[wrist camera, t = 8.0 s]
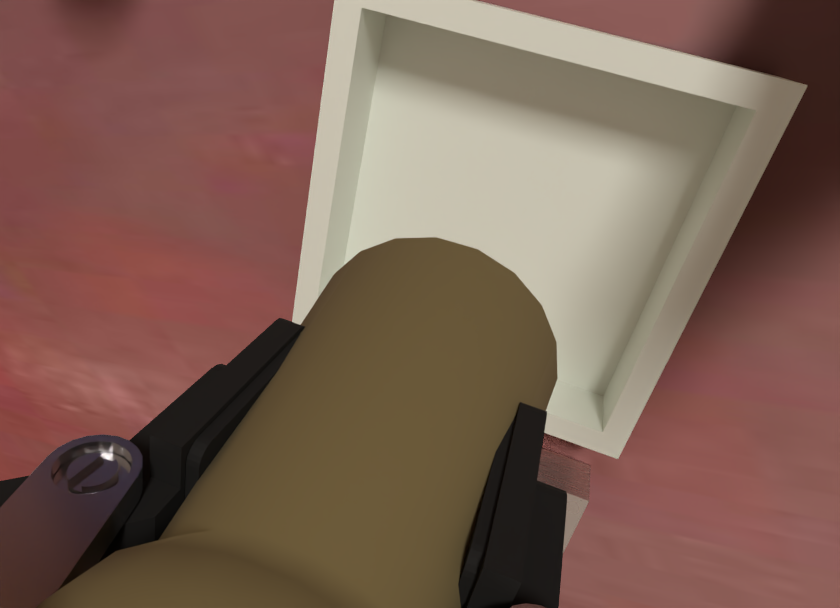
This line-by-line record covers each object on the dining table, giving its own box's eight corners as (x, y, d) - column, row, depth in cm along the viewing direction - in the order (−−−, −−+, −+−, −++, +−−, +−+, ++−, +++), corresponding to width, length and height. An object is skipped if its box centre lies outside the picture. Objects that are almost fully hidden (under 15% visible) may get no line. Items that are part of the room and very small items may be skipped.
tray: (777, 76, 20) (808, 85, 17) (616, 410, 27) (617, 459, 24) (375, -26, 23) (338, -33, 20) (322, 308, 30) (289, 341, 27)
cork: (356, 462, 16) (6, 1080, 7) (281, 260, 14) (-376, 743, 5) (579, 452, 14) (526, 1333, 5) (529, 212, 12) (248, 918, 3)
